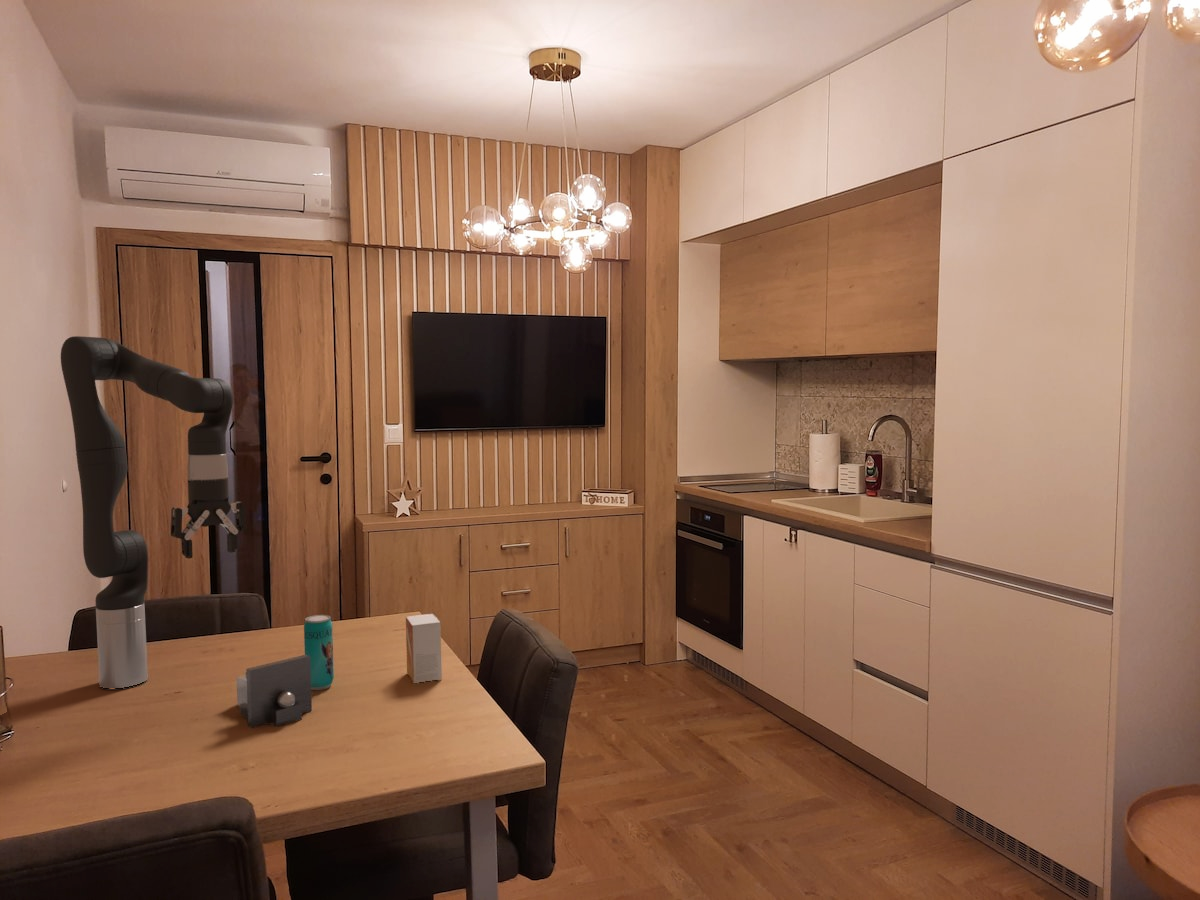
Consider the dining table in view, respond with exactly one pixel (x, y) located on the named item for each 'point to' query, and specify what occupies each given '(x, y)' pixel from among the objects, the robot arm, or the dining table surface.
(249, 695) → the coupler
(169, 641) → the dining table surface
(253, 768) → the dining table surface
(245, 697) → the grey rectangular block
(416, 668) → the small box
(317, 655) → the beverage can
